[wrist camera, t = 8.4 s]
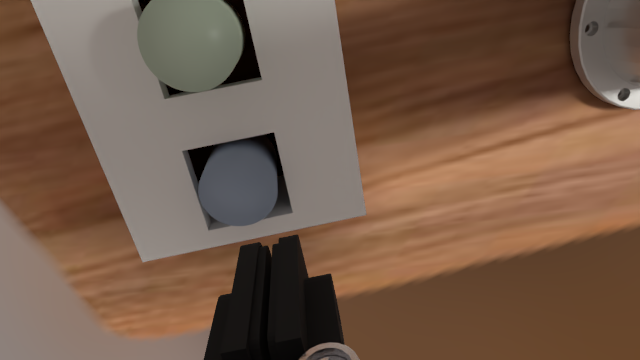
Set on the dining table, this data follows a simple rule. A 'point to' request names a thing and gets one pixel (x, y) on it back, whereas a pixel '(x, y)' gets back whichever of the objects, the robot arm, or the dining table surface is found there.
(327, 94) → the console
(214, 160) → the slate button
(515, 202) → the dining table surface
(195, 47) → the sage button
